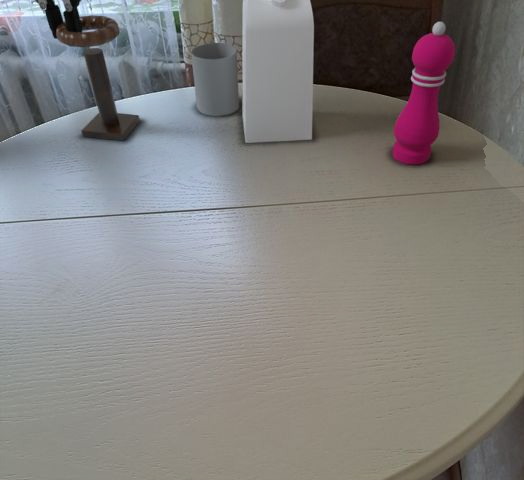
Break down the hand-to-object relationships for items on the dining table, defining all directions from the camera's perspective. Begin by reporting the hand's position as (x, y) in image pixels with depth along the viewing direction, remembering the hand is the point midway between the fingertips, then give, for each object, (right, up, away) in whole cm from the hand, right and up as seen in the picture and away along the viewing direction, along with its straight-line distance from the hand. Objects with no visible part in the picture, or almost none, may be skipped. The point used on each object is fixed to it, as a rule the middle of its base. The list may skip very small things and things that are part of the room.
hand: (68, 35), depth 83 cm
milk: (+35, -10, +11) cm, 38 cm away
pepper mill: (+58, -19, +3) cm, 61 cm away
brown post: (+4, -11, +11) cm, 16 cm away
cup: (+24, -4, +17) cm, 29 cm away
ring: (+4, 0, -1) cm, 4 cm away
